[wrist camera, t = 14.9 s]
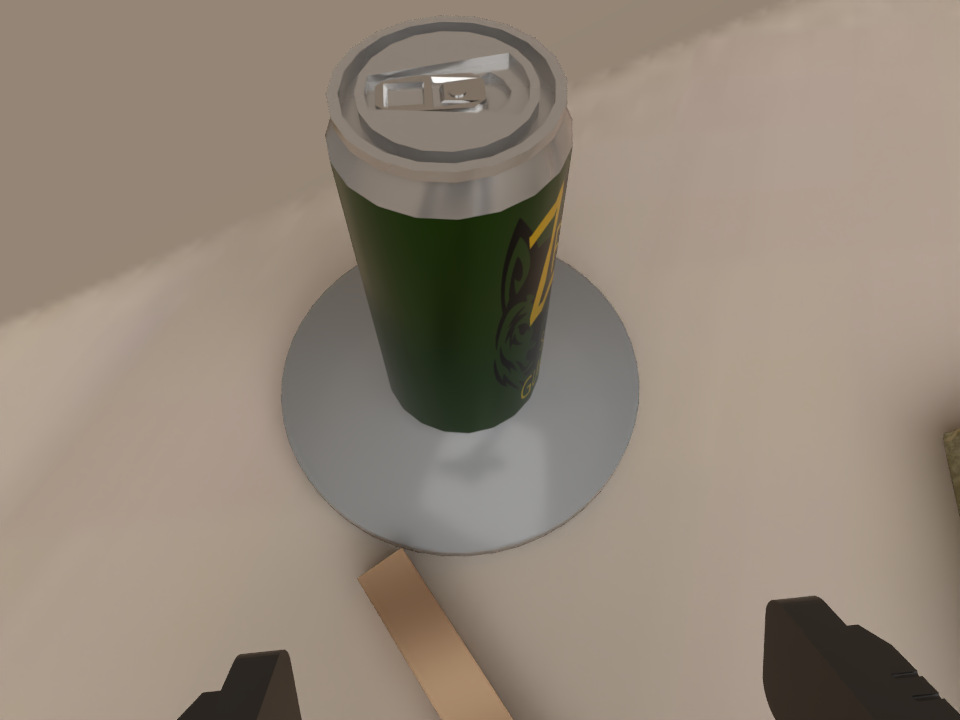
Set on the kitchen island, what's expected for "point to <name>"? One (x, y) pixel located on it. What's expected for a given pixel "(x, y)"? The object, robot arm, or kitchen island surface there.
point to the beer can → (453, 207)
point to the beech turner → (430, 642)
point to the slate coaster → (459, 456)
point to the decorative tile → (954, 460)
